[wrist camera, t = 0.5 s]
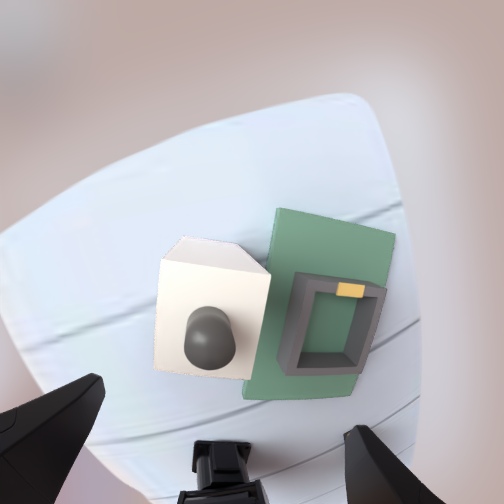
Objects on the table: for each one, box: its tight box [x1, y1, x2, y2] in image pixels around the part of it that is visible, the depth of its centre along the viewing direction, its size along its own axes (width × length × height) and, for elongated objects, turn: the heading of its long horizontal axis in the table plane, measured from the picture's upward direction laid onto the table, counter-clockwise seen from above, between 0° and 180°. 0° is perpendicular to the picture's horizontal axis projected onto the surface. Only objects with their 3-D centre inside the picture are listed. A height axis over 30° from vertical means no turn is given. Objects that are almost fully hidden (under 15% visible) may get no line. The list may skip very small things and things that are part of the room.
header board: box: [242, 208, 396, 400], centre depth 23 cm, size 18×12×4 cm, turn 170°
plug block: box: [153, 236, 271, 380], centre depth 16 cm, size 5×4×14 cm
